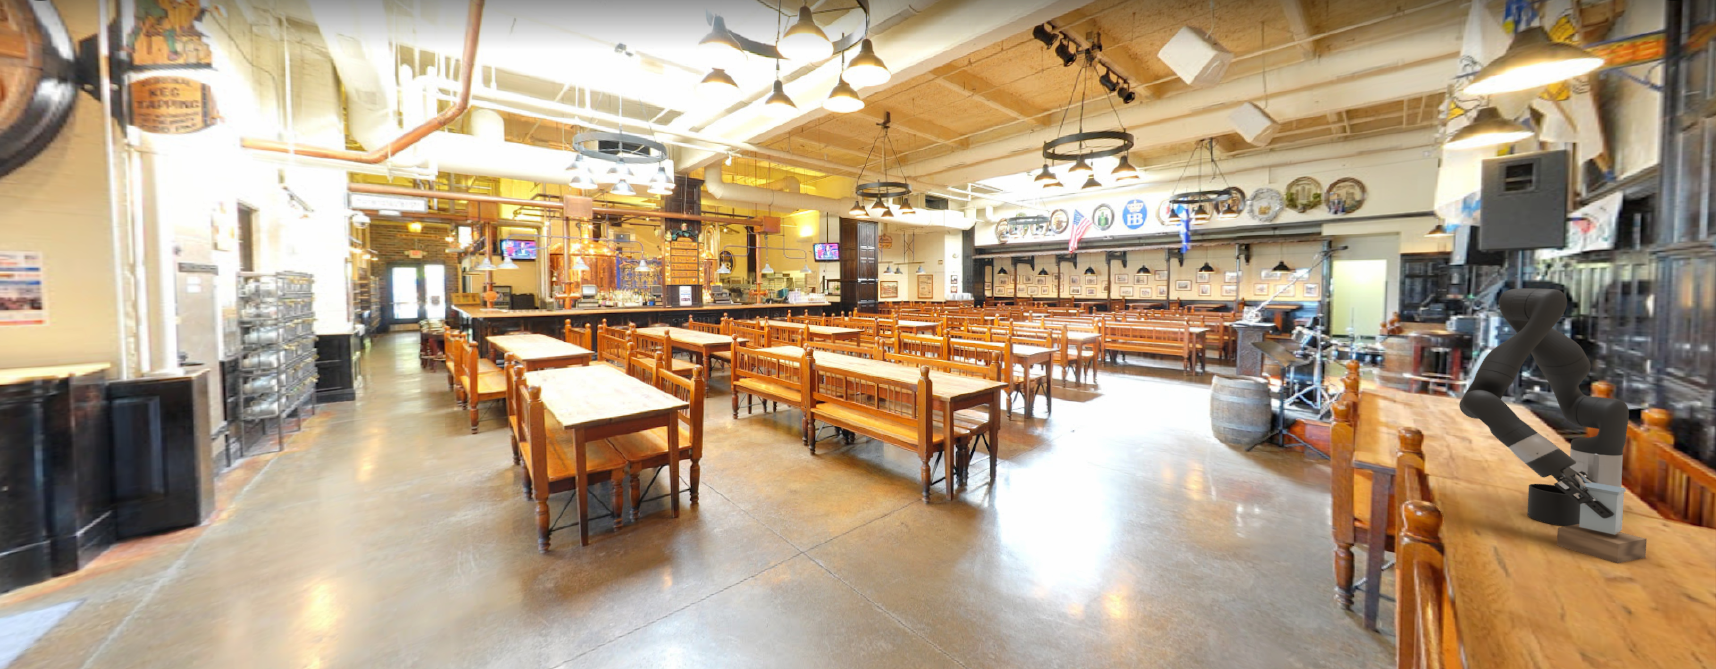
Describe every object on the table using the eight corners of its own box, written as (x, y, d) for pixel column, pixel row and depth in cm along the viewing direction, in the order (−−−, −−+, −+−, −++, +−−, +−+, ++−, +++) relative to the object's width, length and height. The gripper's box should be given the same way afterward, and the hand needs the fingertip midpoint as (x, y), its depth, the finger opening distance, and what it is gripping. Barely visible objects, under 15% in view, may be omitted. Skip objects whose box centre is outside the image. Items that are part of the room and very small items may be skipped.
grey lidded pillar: (1585, 521, 142) (1587, 481, 141) (1623, 530, 137) (1625, 488, 136) (1577, 526, 140) (1579, 485, 139) (1616, 535, 134) (1618, 492, 134)
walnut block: (1584, 541, 144) (1584, 522, 144) (1645, 558, 135) (1646, 538, 134) (1556, 546, 142) (1557, 527, 142) (1617, 564, 132) (1618, 543, 132)
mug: (1578, 517, 158) (1580, 486, 158) (1582, 529, 150) (1583, 497, 150) (1527, 508, 165) (1528, 479, 165) (1527, 520, 158) (1529, 489, 157)
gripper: (1547, 451, 141) (1623, 513, 131) (1566, 443, 147) (1641, 501, 137) (1514, 466, 146) (1586, 527, 136) (1535, 458, 152) (1604, 515, 142)
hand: (1613, 514), depth 136 cm, fingers closed on grey lidded pillar, 5 cm apart
